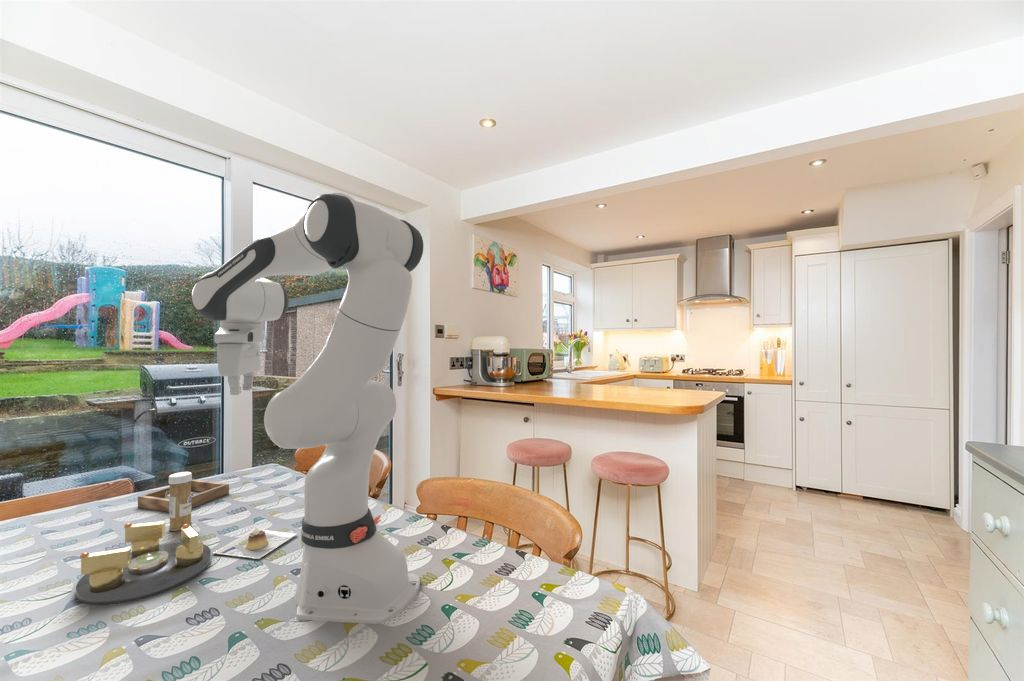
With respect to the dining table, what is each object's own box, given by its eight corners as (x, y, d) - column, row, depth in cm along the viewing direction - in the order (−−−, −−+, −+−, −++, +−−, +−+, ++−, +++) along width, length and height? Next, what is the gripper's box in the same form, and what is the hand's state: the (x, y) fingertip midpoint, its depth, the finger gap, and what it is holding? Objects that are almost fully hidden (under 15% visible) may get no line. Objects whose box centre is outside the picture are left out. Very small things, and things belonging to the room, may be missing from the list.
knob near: (207, 562, 85) (207, 529, 85) (180, 571, 82) (180, 537, 82) (197, 551, 89) (197, 519, 89) (171, 559, 86) (171, 526, 86)
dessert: (255, 533, 103) (255, 513, 103) (298, 538, 101) (298, 518, 101) (211, 558, 92) (211, 536, 92) (258, 564, 89) (259, 541, 89)
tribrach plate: (233, 558, 91) (233, 538, 91) (127, 617, 71) (127, 592, 71) (164, 545, 96) (164, 527, 96) (47, 597, 76) (47, 575, 76)
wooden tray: (228, 493, 128) (229, 483, 128) (178, 513, 114) (178, 502, 114) (191, 489, 132) (191, 479, 132) (137, 507, 118) (137, 496, 118)
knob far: (168, 545, 91) (169, 515, 91) (158, 555, 87) (158, 524, 87) (130, 550, 90) (130, 519, 90) (118, 560, 85) (118, 528, 85)
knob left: (133, 575, 80) (133, 540, 80) (124, 587, 76) (124, 551, 76) (86, 583, 77) (86, 547, 77) (73, 597, 73) (73, 559, 73)
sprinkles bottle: (191, 528, 104) (191, 474, 104) (167, 533, 102) (167, 478, 102) (192, 522, 108) (192, 469, 108) (169, 526, 106) (169, 472, 106)
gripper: (240, 335, 111) (239, 388, 111) (211, 334, 92) (211, 398, 92) (267, 335, 113) (266, 387, 113) (244, 335, 94) (244, 397, 94)
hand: (241, 392), depth 102 cm, fingers open, 8 cm apart
